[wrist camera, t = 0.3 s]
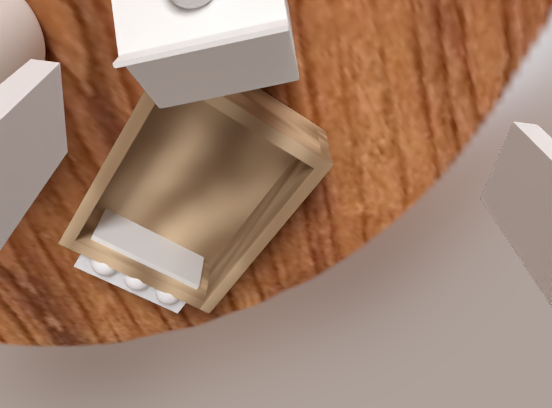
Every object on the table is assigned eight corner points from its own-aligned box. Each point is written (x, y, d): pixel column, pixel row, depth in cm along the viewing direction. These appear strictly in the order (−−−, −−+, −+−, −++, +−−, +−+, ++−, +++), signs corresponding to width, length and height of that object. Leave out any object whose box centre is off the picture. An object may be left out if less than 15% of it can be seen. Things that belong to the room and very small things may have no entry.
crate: (81, 203, 46) (58, 243, 41) (176, 34, 38) (162, 59, 33) (215, 269, 51) (209, 313, 45) (325, 131, 43) (333, 165, 38)
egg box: (87, 238, 47) (69, 275, 43) (105, 208, 45) (88, 243, 41) (183, 284, 50) (175, 323, 46) (204, 257, 48) (197, 295, 44)
